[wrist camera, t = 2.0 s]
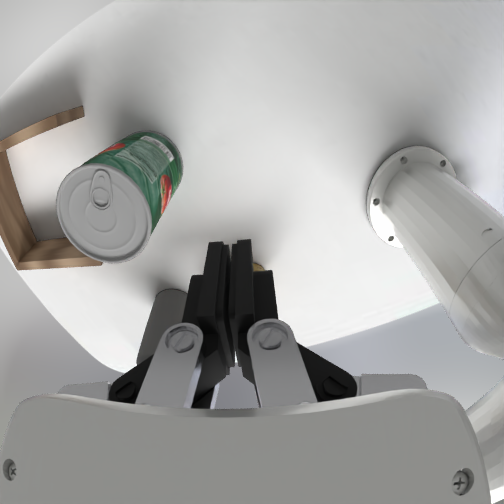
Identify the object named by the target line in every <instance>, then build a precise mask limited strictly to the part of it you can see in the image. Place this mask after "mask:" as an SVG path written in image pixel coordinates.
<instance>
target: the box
mask: <svg viewBox="0 0 504 504" xmlns="http://www.w3.org/2000/svg"><path fill="white" fill-rule="evenodd" d="M82 117H84V112H83V106H81V107H77V108H74V109H71V110H68V111H64V112H61V113H58V114H55V115H53V116H51V117H48V118H46V119H44V120H41V121H39V122H37V123H35V124H33V125H31V126H29V127H26V128H24V129H22V130H20V131H18V132H16V133H14V134H13V135H11V136H9V137H7V138H5V139H3V140H1V141H0V236H1V238H2V240H3V242H4V244H5V247H6V249H7V251H8V253H9V255H10V257H11V259H12V261H13V263H14V265H15V267H16V269H17V270H32V269H50V268H67V267H84V266H101V265H102V264H103V262H101V261H98V260H94V259H92V258H90V257H88V256H86V255H85V254H83V253H82V252H81V251H79V250H78V249H77V248H76V247H75V246H74V245H73V244H72V243H71V242H70V241H69V239H68V238H67V237H66V238H59V239H51V240H44V241H36V238H35V236H34V234H33V231H32V229H31V227H30V224H29V222H28V219H27V216H26V214H25V211H24V209H23V206H22V203H21V200H20V197H19V194H18V191H17V188H16V185H15V182H14V179H13V176H12V172H11V169H10V165H9V161H8V158H7V154H6V149H8V148H10V147H12V146H14V145H16V144H18V143H21V142H23V141H25V140H27V139H29V138H31V137H34V136H36V135H38V134H41V133H43V132H46V131H48V130H50V129H53V128H56V127H58V126H61V125H63V124H66V123H68V122H71V121H73V120H76V119H79V118H82Z"/></svg>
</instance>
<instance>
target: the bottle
mask: <svg viewBox="0 0 504 504" xmlns="http://www.w3.org/2000/svg"><path fill="white" fill-rule="evenodd" d="M186 299H187V293H185V292H183V291H180V290H176V289H167V290H164V291H161V292H160V293H159V294H158V295H157V296H156V299H155V301H154V304H153V307H152V310H151V313H150V316H149V319H148V322H147V326H146V329H145V332H144V335H143V339H142V342H141V346H140V349H139V353H138V357H137V362H136V363H137V365H138V364H140V363H141V362H143V361H144V360H146V359H147V358H149V357H150V356H151V355H153V354H154V353H155V351H156V349H157V347H158V344H159V342H160V339H161V337H162V335H163V334H164V332H165V331H166V330H167V329H168V328H169V327H171V326H173V325H175V324H179V323H182V318H183V313H184V308H185V303H186Z"/></svg>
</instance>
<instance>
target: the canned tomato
mask: <svg viewBox="0 0 504 504" xmlns="http://www.w3.org/2000/svg"><path fill="white" fill-rule="evenodd" d="M182 175H183V162H182V158H181V155H180V152H179V151H178V149H177V147H176V146H175V145H174V144H173V143H172V141H171V140H169V139H168V138H167V137H165V136H164V135H161V134H159V133H156V132H152V131H140V132H135V133H133V134H131V135H129V136H127V137H126V138H124V139H122V140H121V141H119V142H117V143H115V144H114V145H112V146H110V147H109V148H107V149H106V150H104V151H102V152H101V153H99V154H98V155H96V156H94V157H93V158H91V159H90V160H88V161H87V162H85V163H84V164H82V165H81V166H80V167H78V168H76V169H74V170H72V171H71V172H70V173H69V174H68V175H67V176H66V177H65V178H64V180H63V181H62V183H61V185H60V187H59V190H58V193H57V199H56V210H57V216H58V220H59V223H60V225H61V228H62V230H63V232H64V233H65V235H66V237H67V238H68V239H69V241H70V242H71V243H72V244H73V245H74V246H75V247H76V248H77V249H78V250H79V251H81V252H82V253H83V254H85V255H86V256H88V257H90V258H92V259H94V260H98V261H101V262H105V263H122V262H126V261H129V260H131V259H133V258H135V257H136V256H137V255H138V254H139V253H141V252H142V250H143V249H144V248H145V246H146V245H147V243H148V240H149V238H150V235H151V234H152V232H153V230H154V228H155V227H156V225H157V223H158V221H159V219H160V218H161V216H162V214H163V212H164V210H165V209H166V206H167V205H168V203H169V201H170V199H171V198H172V196H173V194H174V193H175V191H176V189H177V188H178V186H179V184H180V182H181V179H182Z"/></svg>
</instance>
